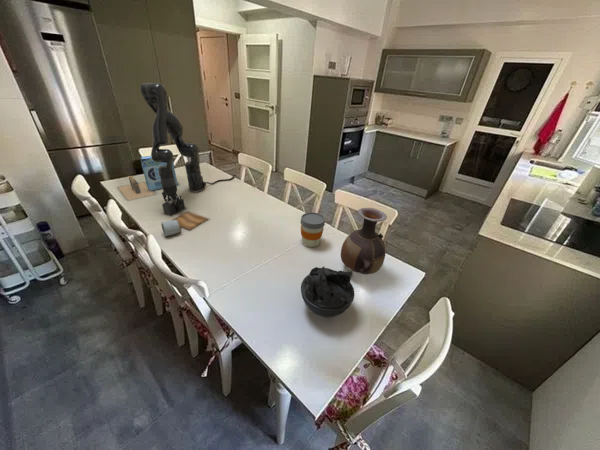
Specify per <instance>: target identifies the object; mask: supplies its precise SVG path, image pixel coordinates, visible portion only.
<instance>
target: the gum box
mask: <svg viewBox="0 0 600 450" xmlns="http://www.w3.org/2000/svg"><path fill="white" fill-rule="evenodd" d="M139 160H140V164H141V168H142V172H143V176H144V179H145V184H146V185H147V188H148V189H149V190H150V191H151V190H152V191H155V190H156V191H157V190H161V189H163V188H162V184H161V178H160V174H159V167H160V166H164V165H167V163H166V162H154V161H153V159H152V158H151V155H146V156H139ZM172 169H173V174H174V178H175V181H176V186H178V184H179V183H178V181H177V180H178V179H177V173H176V168H175V163H174V162H173V163H172Z"/></svg>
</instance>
